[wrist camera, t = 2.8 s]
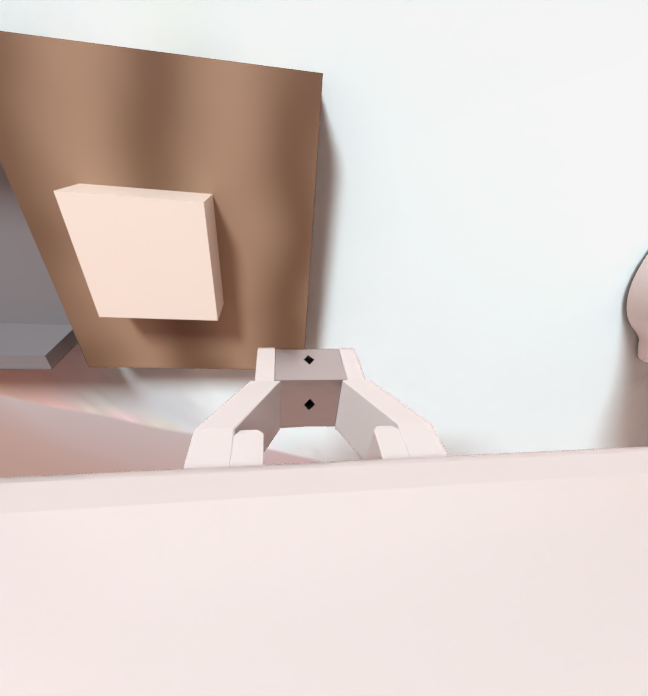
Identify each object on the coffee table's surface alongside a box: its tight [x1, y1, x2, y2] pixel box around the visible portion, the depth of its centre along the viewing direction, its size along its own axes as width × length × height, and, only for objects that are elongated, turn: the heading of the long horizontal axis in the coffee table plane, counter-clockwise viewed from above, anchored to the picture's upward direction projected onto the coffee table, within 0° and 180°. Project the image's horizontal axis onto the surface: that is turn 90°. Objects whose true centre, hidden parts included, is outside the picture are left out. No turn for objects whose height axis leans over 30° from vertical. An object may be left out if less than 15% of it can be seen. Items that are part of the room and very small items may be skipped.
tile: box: [54, 183, 224, 321], centre depth 16 cm, size 6×6×2 cm
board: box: [0, 31, 323, 369], centre depth 18 cm, size 14×16×2 cm
